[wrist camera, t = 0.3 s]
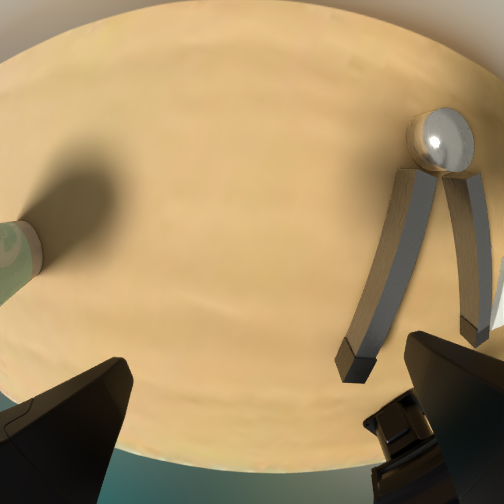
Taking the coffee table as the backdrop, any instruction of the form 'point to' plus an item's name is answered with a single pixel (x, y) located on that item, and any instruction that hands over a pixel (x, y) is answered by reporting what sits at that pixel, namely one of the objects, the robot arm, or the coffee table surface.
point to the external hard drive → (498, 302)
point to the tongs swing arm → (403, 235)
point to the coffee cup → (18, 257)
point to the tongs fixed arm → (471, 253)
